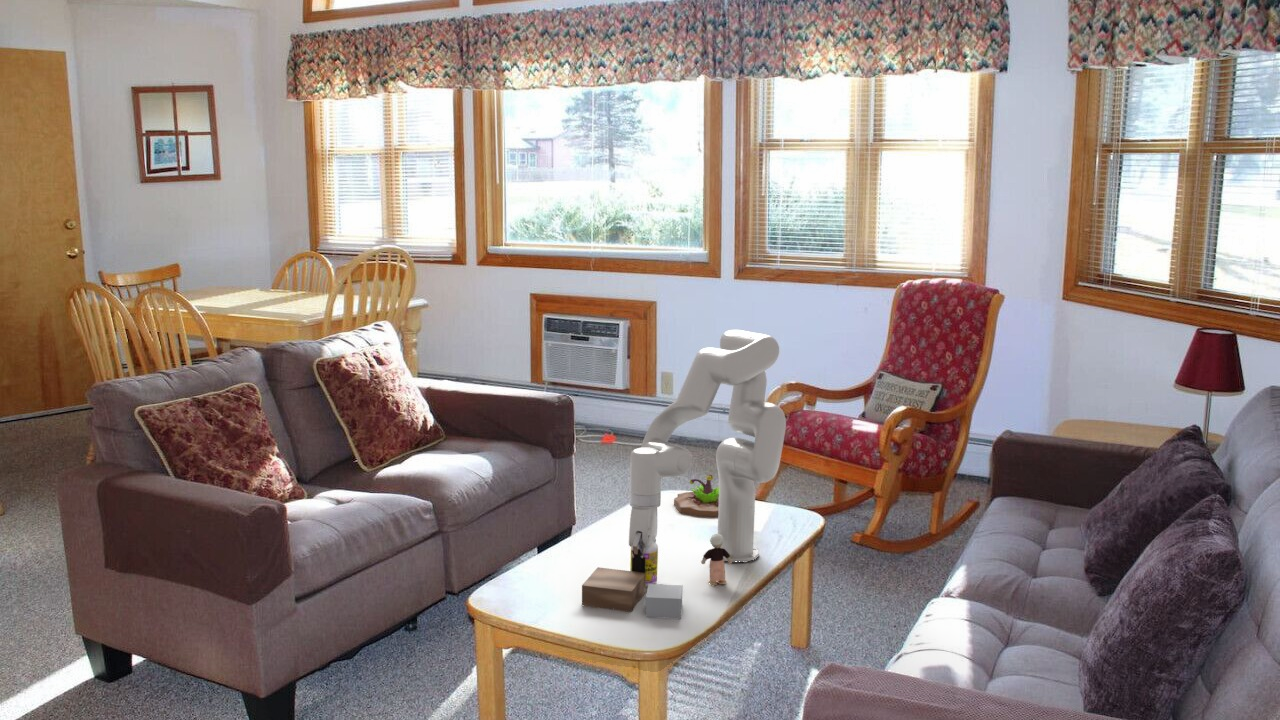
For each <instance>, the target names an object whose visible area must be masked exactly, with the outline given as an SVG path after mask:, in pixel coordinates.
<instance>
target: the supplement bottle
mask: <svg viewBox="0 0 1280 720" xmlns="http://www.w3.org/2000/svg"><path fill="white" fill-rule="evenodd" d="M653 540H654V534H653V538H652V543H651V545H650V546H649V547H648V548H646V549H645V555H644V557H645V588H648V584H657V582H658V561H659V560H658V559H659V557H658V555H659V554H658V553H659V552H658V551H659V545H658V544H657V542H656V543H655V542H654V541H653ZM639 545H644V544H639ZM639 549H640V548H639ZM632 550H633V547H630V564H629V565H630V569H629V571H632ZM640 550H641V553H642V549H640Z"/></svg>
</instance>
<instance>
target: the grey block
mask: <svg viewBox="0 0 1280 720" xmlns="http://www.w3.org/2000/svg"><path fill="white" fill-rule="evenodd" d="M683 588H684V587H683V585H682V584H681V585H680V584H659V583H656V584H648V587H647V591H646V594H645V618H655V619H656V618H659V619H675V620H676V619H678V620H682V609H683Z"/></svg>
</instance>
